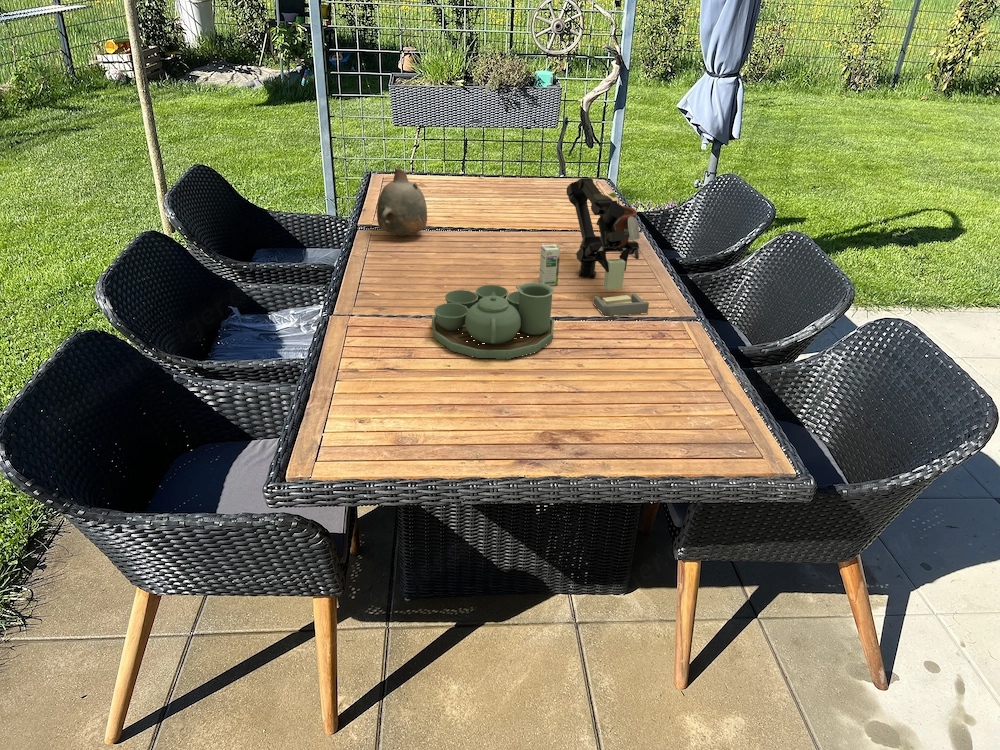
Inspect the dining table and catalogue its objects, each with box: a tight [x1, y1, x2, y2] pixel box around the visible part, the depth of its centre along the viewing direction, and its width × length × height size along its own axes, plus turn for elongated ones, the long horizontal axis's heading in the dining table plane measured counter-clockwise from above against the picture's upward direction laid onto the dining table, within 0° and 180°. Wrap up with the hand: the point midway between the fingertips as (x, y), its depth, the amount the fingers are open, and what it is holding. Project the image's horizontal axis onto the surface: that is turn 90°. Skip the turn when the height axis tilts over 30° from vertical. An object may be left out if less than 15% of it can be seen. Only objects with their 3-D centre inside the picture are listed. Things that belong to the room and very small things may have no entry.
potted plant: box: [598, 188, 641, 259], centre depth 294 cm, size 18×22×25 cm
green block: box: [603, 258, 626, 290], centre depth 248 cm, size 3×6×10 cm, turn 105°
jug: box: [376, 165, 428, 237], centre depth 297 cm, size 24×21×30 cm
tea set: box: [431, 282, 555, 360], centre depth 223 cm, size 40×40×16 cm
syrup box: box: [538, 243, 561, 286], centre depth 261 cm, size 6×6×14 cm
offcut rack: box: [592, 293, 650, 317], centre depth 245 cm, size 11×16×4 cm
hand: (616, 271), depth 246 cm, fingers closed on green block, 6 cm apart
